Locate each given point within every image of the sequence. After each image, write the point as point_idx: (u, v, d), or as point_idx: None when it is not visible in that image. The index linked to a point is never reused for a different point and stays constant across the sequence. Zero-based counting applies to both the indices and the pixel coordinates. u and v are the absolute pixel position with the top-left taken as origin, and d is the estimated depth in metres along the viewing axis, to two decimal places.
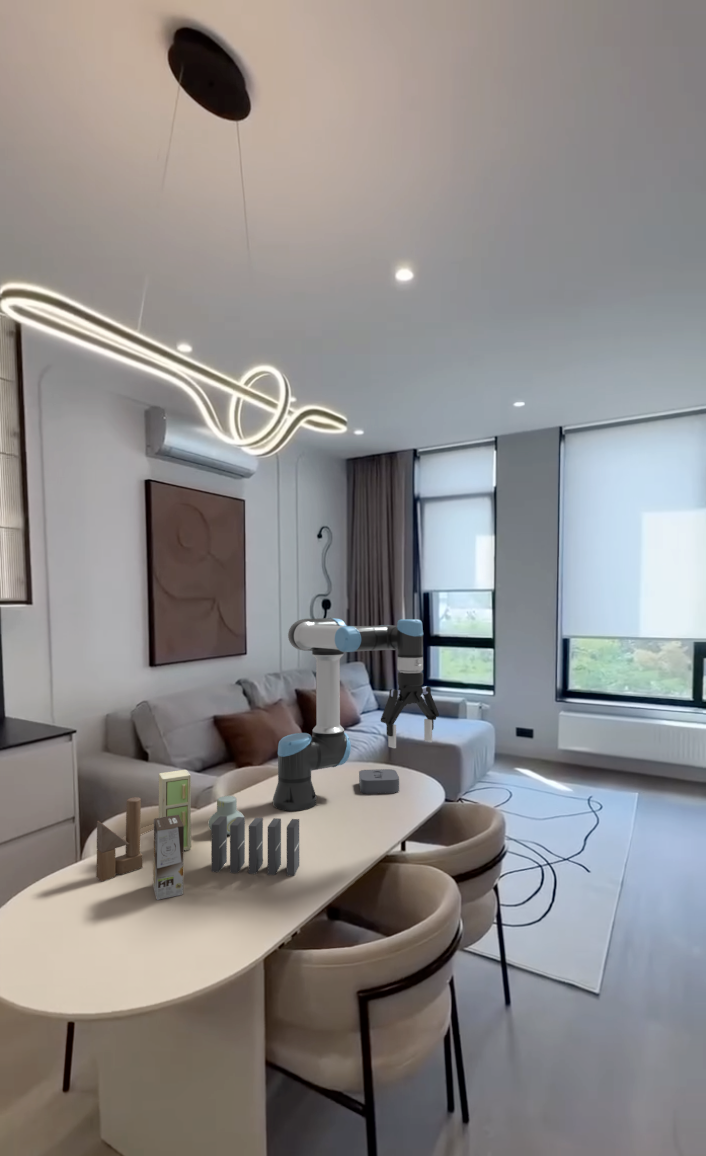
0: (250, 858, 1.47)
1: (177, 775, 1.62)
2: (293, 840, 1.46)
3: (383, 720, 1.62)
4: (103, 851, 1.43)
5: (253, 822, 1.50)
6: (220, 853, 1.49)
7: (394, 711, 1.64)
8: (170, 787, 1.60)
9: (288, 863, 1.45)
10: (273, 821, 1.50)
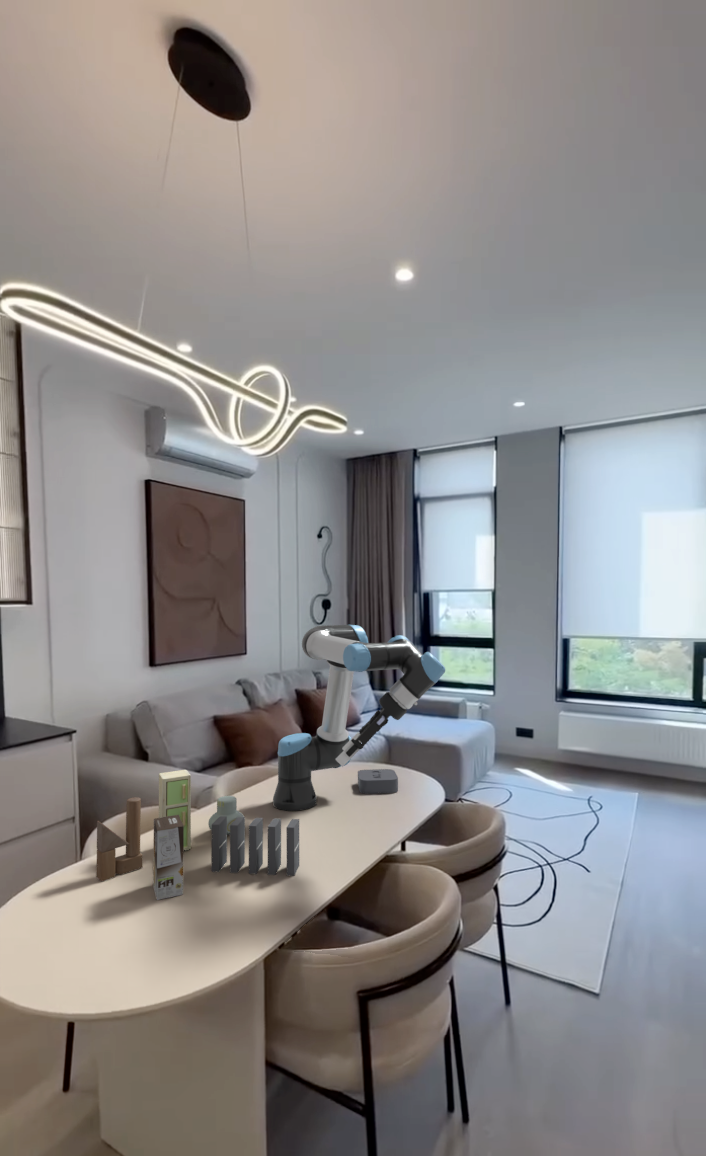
0: (250, 858, 1.47)
1: (177, 775, 1.62)
2: (293, 840, 1.46)
3: (359, 744, 1.46)
4: (103, 851, 1.43)
5: (253, 822, 1.50)
6: (220, 853, 1.49)
7: None
8: (170, 787, 1.60)
9: (288, 863, 1.45)
10: (273, 821, 1.50)
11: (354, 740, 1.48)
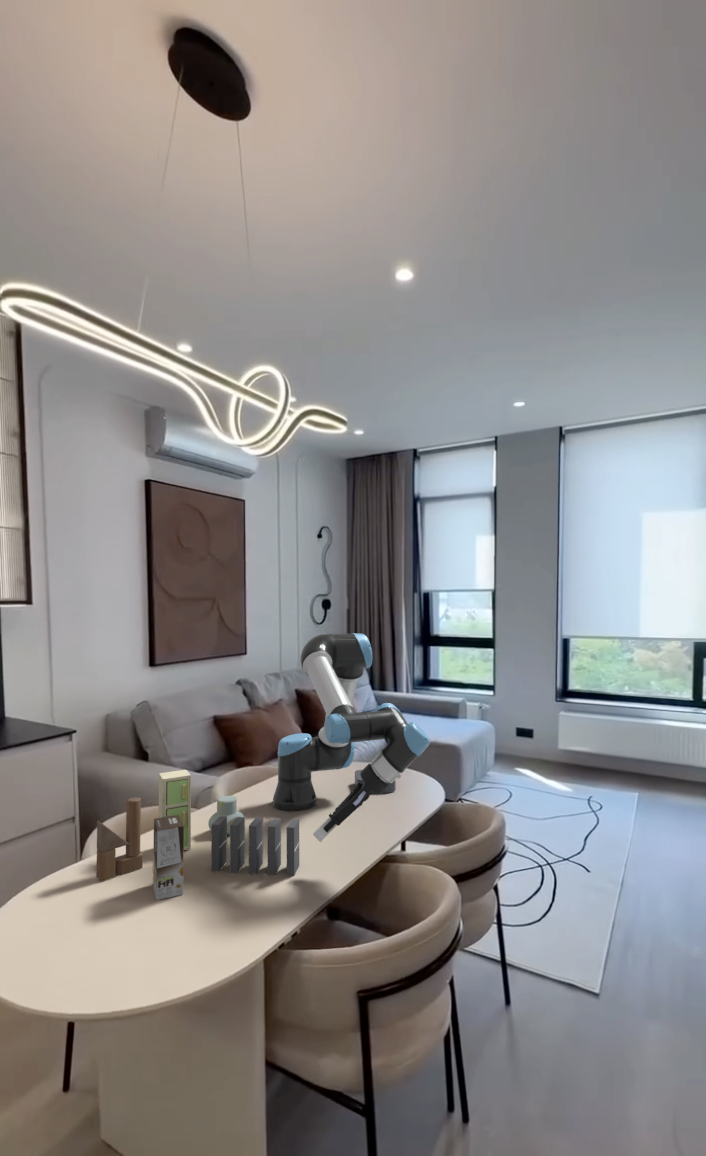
0: (250, 858, 1.47)
1: (177, 775, 1.62)
2: (293, 840, 1.46)
3: (336, 821, 1.44)
4: (103, 851, 1.43)
5: (253, 822, 1.50)
6: (220, 853, 1.49)
7: None
8: (170, 787, 1.60)
9: (288, 863, 1.45)
10: (273, 821, 1.50)
11: (331, 816, 1.46)
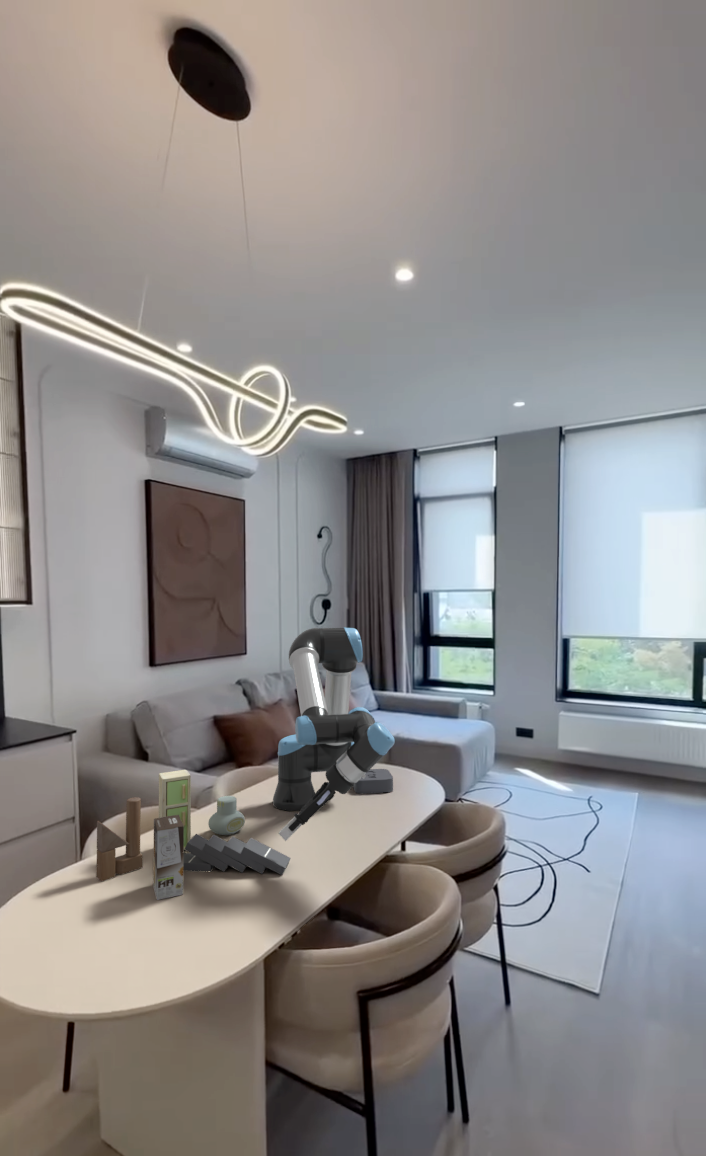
0: (230, 864, 1.47)
1: (177, 775, 1.62)
2: (254, 853, 1.47)
3: (301, 820, 1.45)
4: (103, 851, 1.43)
5: None
6: (197, 861, 1.49)
7: None
8: (170, 787, 1.60)
9: (272, 868, 1.46)
10: None
11: (296, 816, 1.47)
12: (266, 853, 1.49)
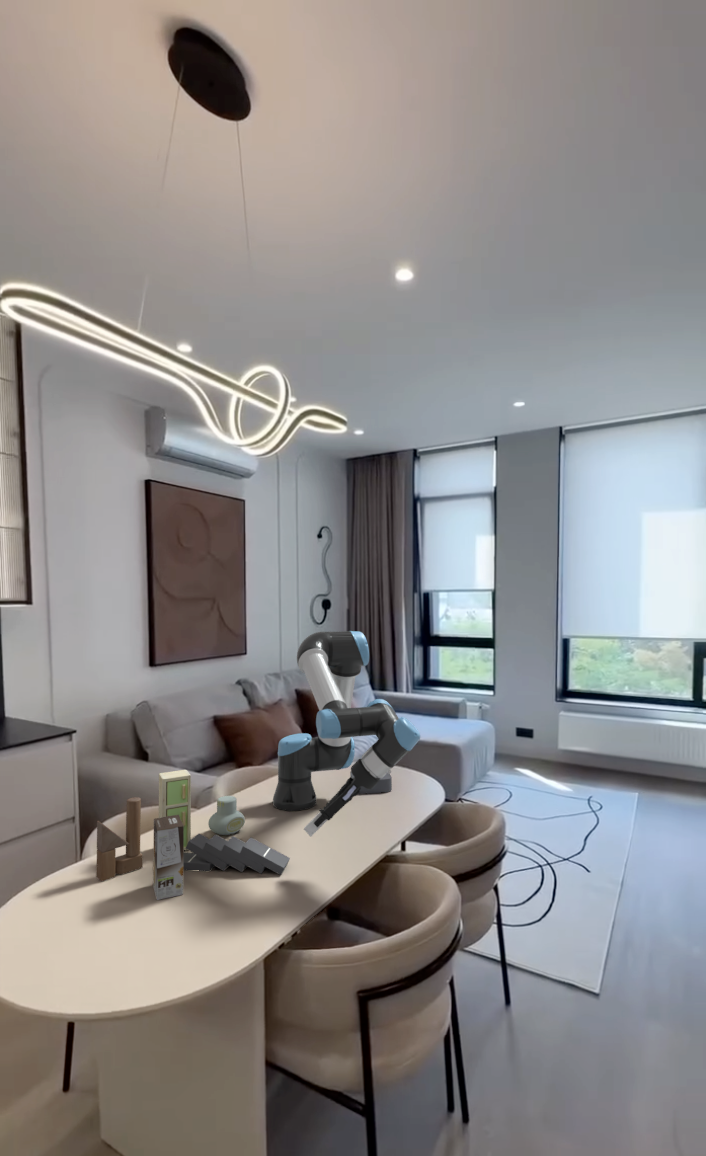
0: (230, 863, 1.48)
1: (177, 775, 1.62)
2: (253, 852, 1.47)
3: (326, 816, 1.44)
4: (103, 851, 1.43)
5: None
6: (196, 861, 1.50)
7: None
8: (170, 787, 1.60)
9: (271, 867, 1.46)
10: None
11: (321, 811, 1.46)
12: (265, 853, 1.49)
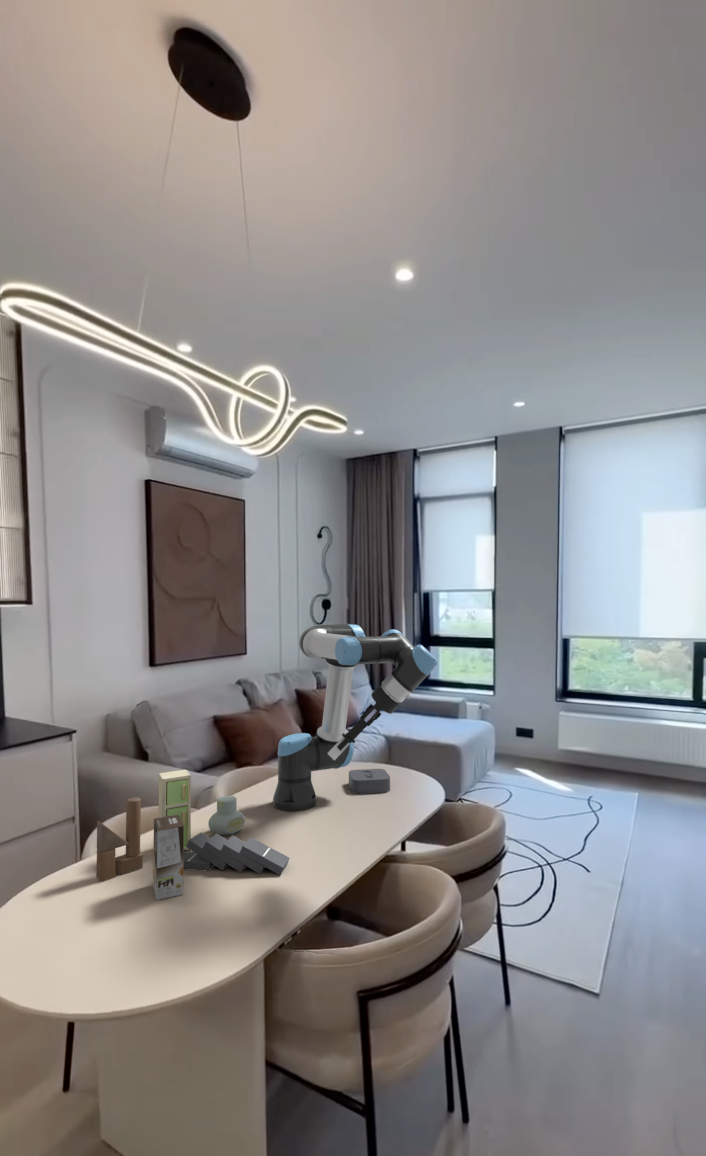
0: (229, 862, 1.48)
1: (177, 775, 1.62)
2: (253, 852, 1.47)
3: (349, 738, 1.51)
4: (103, 851, 1.43)
5: None
6: (195, 860, 1.50)
7: None
8: (170, 787, 1.60)
9: (270, 867, 1.46)
10: None
11: (344, 735, 1.53)
12: (265, 853, 1.49)
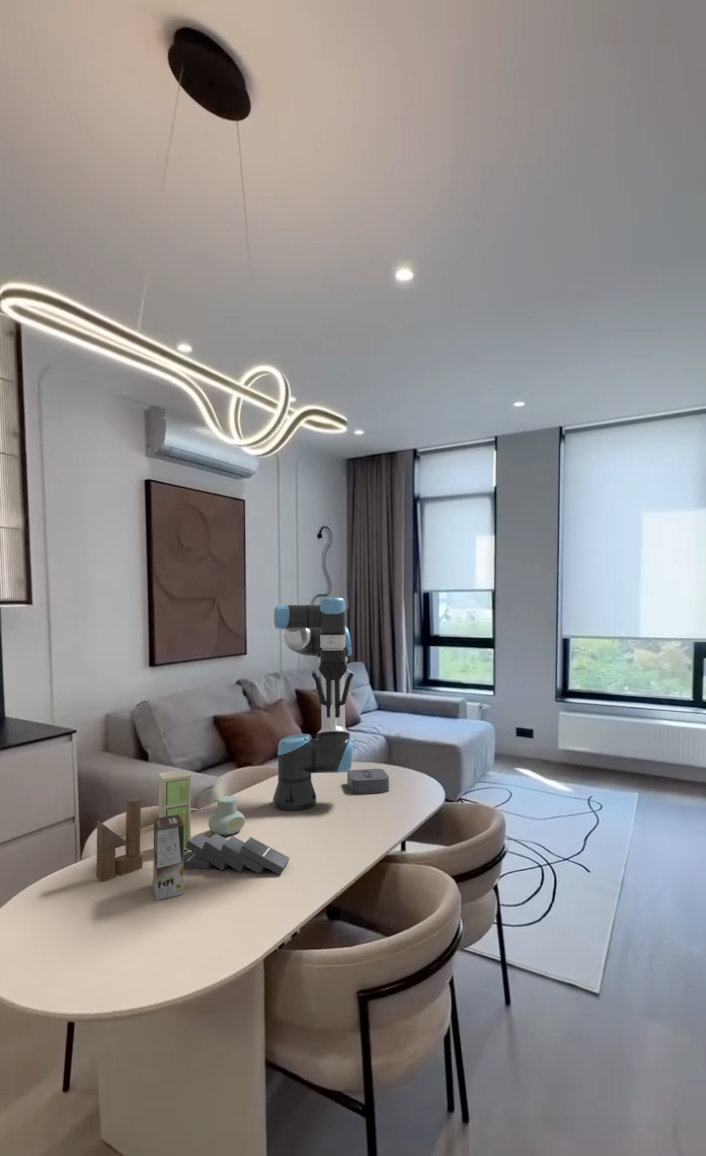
0: (228, 862, 1.48)
1: (177, 775, 1.62)
2: (253, 852, 1.47)
3: None
4: (103, 851, 1.43)
5: None
6: (195, 860, 1.50)
7: None
8: (170, 787, 1.60)
9: (270, 867, 1.46)
10: None
11: None
12: (265, 853, 1.49)
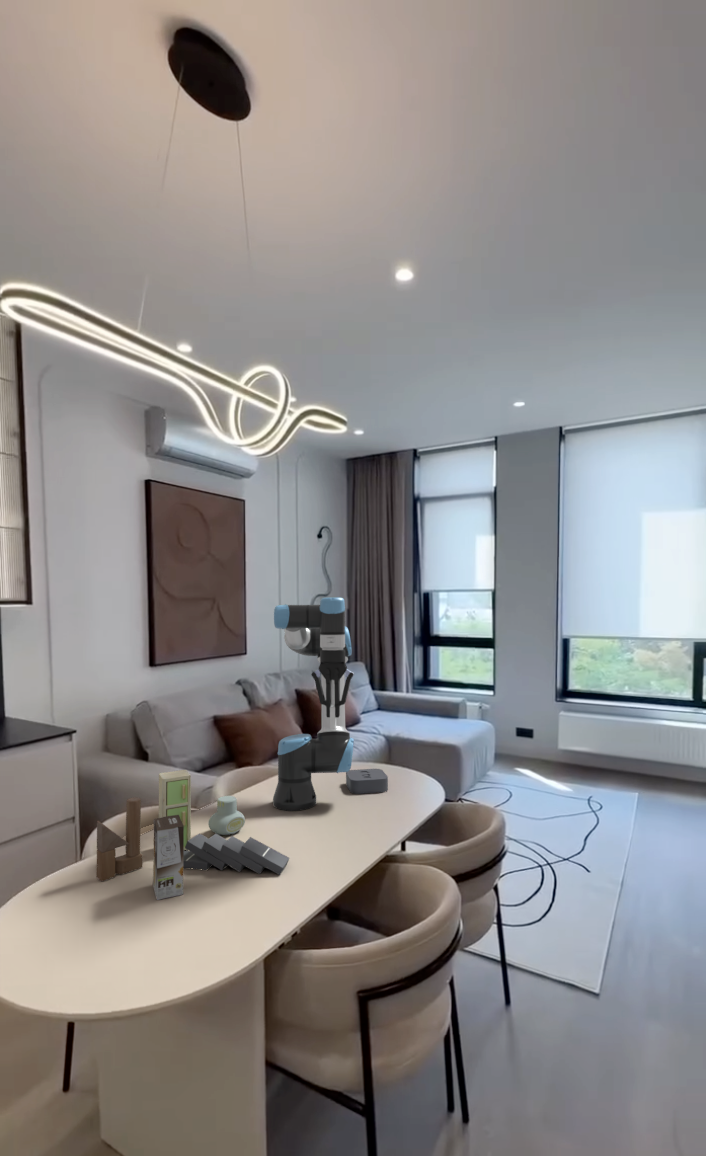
0: (227, 862, 1.48)
1: (177, 775, 1.62)
2: (252, 852, 1.47)
3: None
4: (103, 851, 1.43)
5: None
6: (194, 859, 1.51)
7: None
8: (170, 787, 1.60)
9: (270, 867, 1.46)
10: None
11: None
12: (264, 853, 1.49)
